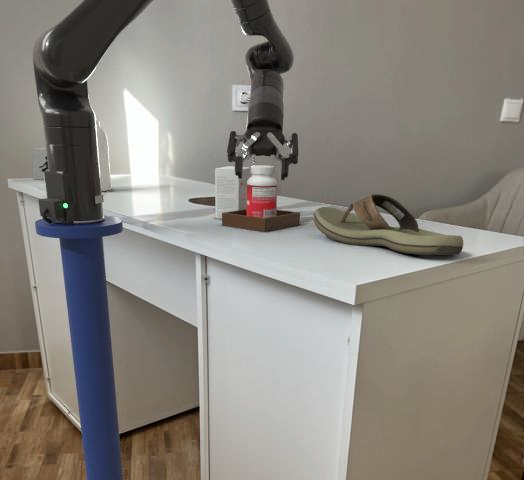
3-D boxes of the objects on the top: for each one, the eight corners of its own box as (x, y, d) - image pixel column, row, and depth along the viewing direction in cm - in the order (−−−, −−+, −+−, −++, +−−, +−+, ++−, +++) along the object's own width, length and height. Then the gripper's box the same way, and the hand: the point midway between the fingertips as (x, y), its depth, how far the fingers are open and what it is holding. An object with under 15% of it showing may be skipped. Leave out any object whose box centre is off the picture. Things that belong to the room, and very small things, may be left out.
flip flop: (302, 235, 104) (304, 188, 101) (347, 229, 111) (350, 186, 108) (430, 265, 83) (438, 208, 80) (476, 256, 90) (485, 203, 86)
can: (97, 193, 160) (90, 118, 153) (59, 191, 163) (51, 117, 156) (119, 189, 171) (114, 119, 164) (83, 187, 174) (77, 118, 167)
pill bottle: (251, 219, 118) (252, 164, 114) (279, 221, 116) (281, 165, 112) (242, 223, 112) (242, 166, 108) (271, 225, 111) (273, 167, 107)
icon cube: (42, 176, 205) (38, 148, 201) (70, 177, 206) (67, 148, 202) (34, 179, 195) (30, 149, 192) (63, 179, 196) (60, 149, 193)
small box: (227, 213, 128) (227, 165, 124) (250, 215, 126) (251, 166, 122) (214, 218, 121) (214, 167, 117) (238, 220, 119) (239, 169, 115)
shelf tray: (264, 231, 107) (265, 218, 106) (221, 225, 113) (221, 212, 112) (299, 224, 116) (300, 212, 115) (258, 218, 122) (258, 207, 121)
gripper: (230, 99, 113) (224, 162, 106) (300, 101, 112) (298, 164, 106) (232, 127, 120) (226, 188, 113) (298, 129, 119) (296, 190, 113)
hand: (261, 176), depth 109 cm, fingers open, 8 cm apart
